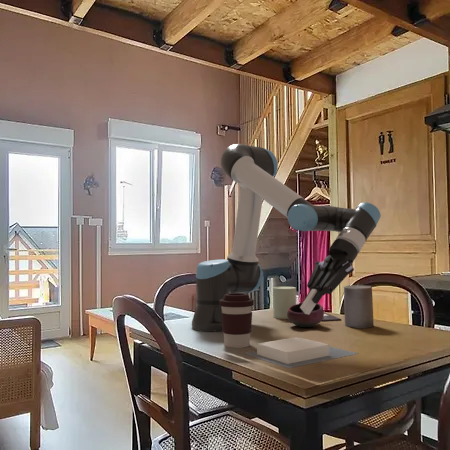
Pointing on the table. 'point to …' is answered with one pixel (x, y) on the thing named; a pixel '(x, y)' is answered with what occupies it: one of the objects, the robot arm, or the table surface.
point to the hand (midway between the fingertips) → (304, 311)
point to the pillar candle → (358, 306)
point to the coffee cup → (236, 319)
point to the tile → (292, 350)
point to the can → (283, 301)
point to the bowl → (305, 315)
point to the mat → (333, 354)
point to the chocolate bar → (330, 318)
